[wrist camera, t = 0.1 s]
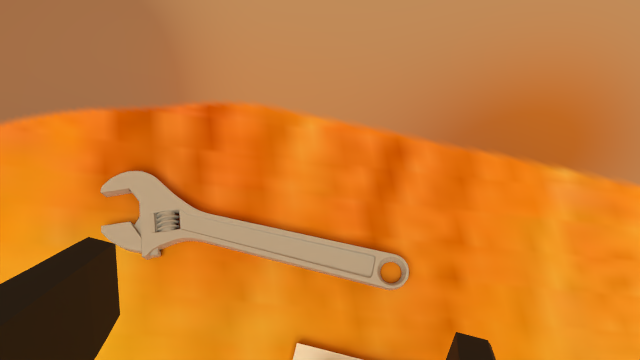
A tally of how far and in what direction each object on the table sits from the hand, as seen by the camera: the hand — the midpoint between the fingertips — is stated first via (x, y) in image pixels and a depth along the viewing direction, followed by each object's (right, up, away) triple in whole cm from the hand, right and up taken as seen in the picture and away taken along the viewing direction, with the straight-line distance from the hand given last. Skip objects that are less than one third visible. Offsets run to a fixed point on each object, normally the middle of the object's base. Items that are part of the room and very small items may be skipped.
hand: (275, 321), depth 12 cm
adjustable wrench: (-5, -3, +34) cm, 34 cm away
